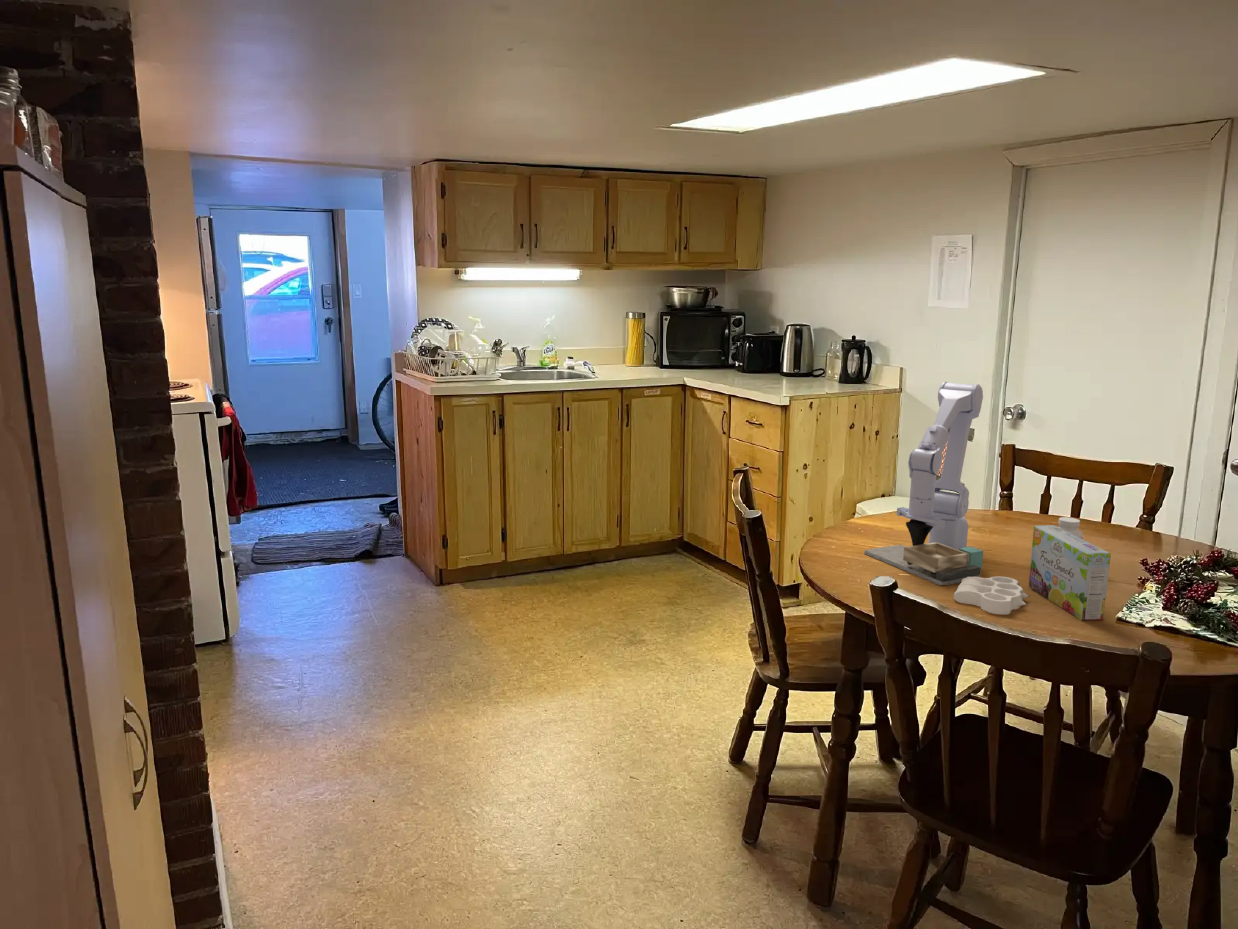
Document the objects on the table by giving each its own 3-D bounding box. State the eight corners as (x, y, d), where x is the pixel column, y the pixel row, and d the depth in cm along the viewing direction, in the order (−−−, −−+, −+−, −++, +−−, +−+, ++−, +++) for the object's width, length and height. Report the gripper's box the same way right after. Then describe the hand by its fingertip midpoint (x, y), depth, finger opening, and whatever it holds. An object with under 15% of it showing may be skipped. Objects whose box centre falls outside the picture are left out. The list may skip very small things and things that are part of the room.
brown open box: (935, 558, 221) (936, 542, 220) (967, 570, 211) (969, 554, 210) (902, 563, 216) (904, 547, 215) (934, 576, 207) (935, 559, 206)
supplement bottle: (1082, 575, 213) (1088, 524, 210) (1052, 573, 214) (1058, 522, 211) (1074, 566, 219) (1080, 516, 217) (1045, 564, 221) (1051, 515, 218)
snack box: (1025, 587, 204) (1032, 524, 201) (1048, 586, 205) (1055, 524, 202) (1079, 621, 184) (1088, 552, 181) (1105, 621, 184) (1114, 552, 181)
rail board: (900, 548, 233) (900, 537, 232) (979, 579, 209) (980, 567, 208) (864, 553, 228) (865, 542, 227) (941, 586, 204) (942, 574, 203)
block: (969, 565, 220) (970, 546, 218) (981, 570, 216) (983, 550, 215) (957, 567, 218) (958, 548, 217) (969, 572, 214) (971, 552, 213)
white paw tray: (963, 584, 207) (1031, 595, 200) (950, 607, 192) (1023, 620, 185) (965, 570, 207) (1033, 581, 199) (951, 593, 191) (1024, 605, 184)
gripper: (889, 492, 221) (885, 543, 223) (931, 505, 208) (926, 560, 211) (910, 489, 224) (906, 540, 226) (953, 502, 211) (948, 556, 214)
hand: (917, 549), depth 219 cm, fingers closed
